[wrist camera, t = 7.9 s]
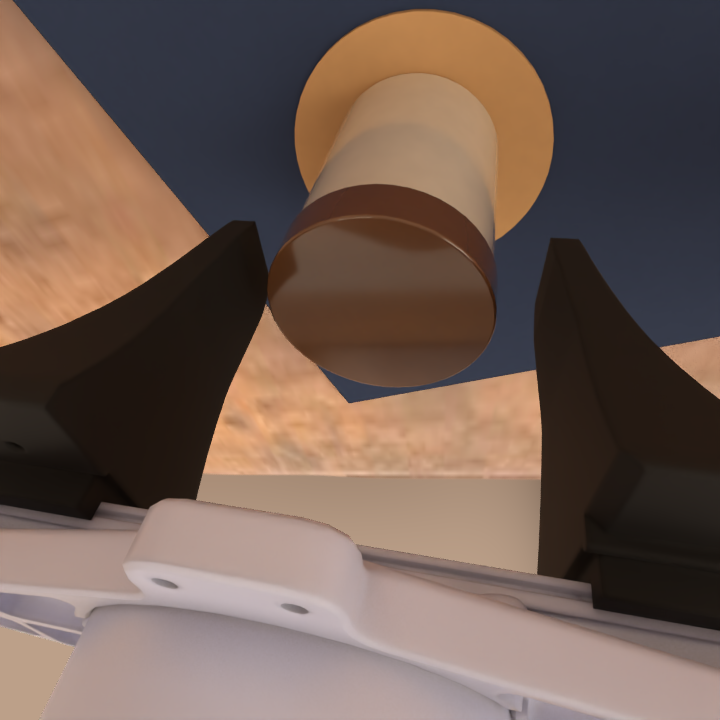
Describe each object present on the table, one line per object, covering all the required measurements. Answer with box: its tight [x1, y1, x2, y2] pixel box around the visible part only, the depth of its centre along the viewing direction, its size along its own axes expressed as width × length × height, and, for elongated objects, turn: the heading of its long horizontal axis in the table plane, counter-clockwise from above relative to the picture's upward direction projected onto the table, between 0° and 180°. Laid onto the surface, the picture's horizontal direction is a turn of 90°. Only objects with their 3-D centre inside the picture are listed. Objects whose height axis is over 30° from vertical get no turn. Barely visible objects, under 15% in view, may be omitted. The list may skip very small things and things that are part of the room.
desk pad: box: [13, 0, 720, 403], centre depth 17 cm, size 22×18×1 cm
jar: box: [267, 73, 499, 387], centre depth 14 cm, size 5×5×7 cm
